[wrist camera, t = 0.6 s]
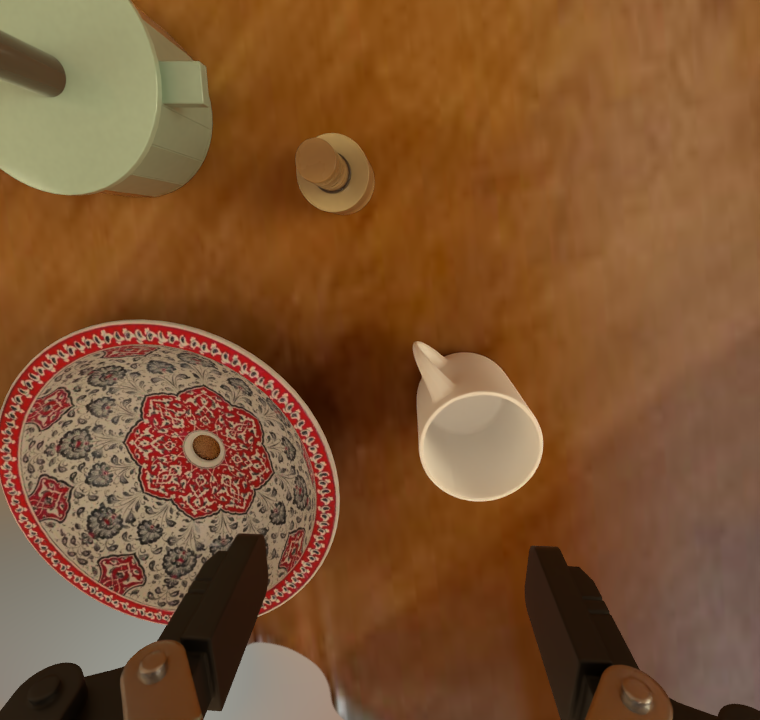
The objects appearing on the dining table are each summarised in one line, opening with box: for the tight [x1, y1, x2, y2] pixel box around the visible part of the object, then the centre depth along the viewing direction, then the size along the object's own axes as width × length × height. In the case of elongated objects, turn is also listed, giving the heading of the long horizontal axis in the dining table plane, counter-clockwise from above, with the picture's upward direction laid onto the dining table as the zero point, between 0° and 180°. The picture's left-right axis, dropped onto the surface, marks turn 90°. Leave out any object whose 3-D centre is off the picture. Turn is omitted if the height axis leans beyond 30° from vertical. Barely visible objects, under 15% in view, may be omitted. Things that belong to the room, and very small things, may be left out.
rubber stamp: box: [295, 133, 375, 215], centre depth 30 cm, size 5×5×12 cm
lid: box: [0, 0, 162, 196], centre depth 25 cm, size 14×14×6 cm
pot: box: [99, 5, 212, 197], centre depth 31 cm, size 13×18×8 cm
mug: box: [413, 341, 543, 501], centre depth 35 cm, size 9×12×11 cm
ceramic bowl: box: [0, 319, 340, 625], centre depth 40 cm, size 29×29×8 cm
